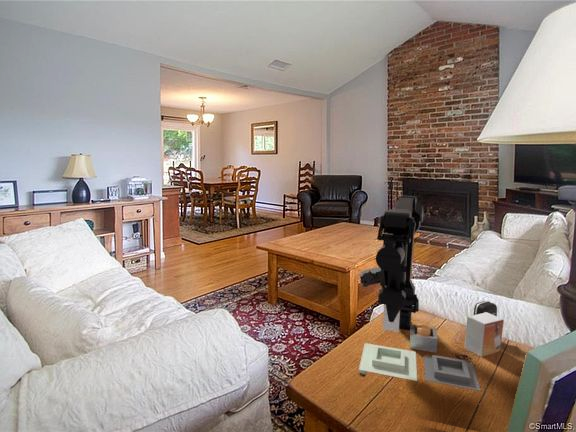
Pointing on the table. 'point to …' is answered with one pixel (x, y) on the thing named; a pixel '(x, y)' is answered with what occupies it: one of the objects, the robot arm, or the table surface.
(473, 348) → the small box
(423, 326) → the tan egg
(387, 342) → the table surface
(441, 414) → the table surface
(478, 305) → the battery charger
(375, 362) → the pale green socket
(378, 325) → the table surface
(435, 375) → the charcoal socket
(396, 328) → the steel peg
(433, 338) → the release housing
